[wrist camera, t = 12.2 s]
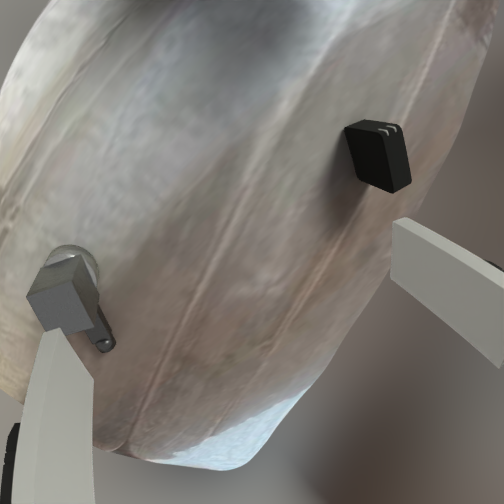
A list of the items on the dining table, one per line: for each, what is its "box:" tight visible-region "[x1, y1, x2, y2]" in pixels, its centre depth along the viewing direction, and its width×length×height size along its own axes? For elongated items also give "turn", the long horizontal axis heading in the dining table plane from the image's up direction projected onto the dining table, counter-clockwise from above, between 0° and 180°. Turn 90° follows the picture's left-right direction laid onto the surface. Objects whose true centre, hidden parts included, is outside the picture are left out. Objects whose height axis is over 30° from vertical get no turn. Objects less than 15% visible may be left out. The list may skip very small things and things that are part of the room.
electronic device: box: [344, 119, 412, 194], centre depth 47 cm, size 4×10×10 cm, turn 24°
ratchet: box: [43, 245, 116, 353], centre depth 43 cm, size 19×9×10 cm, turn 12°
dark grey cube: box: [26, 254, 99, 336], centre depth 38 cm, size 7×7×8 cm
